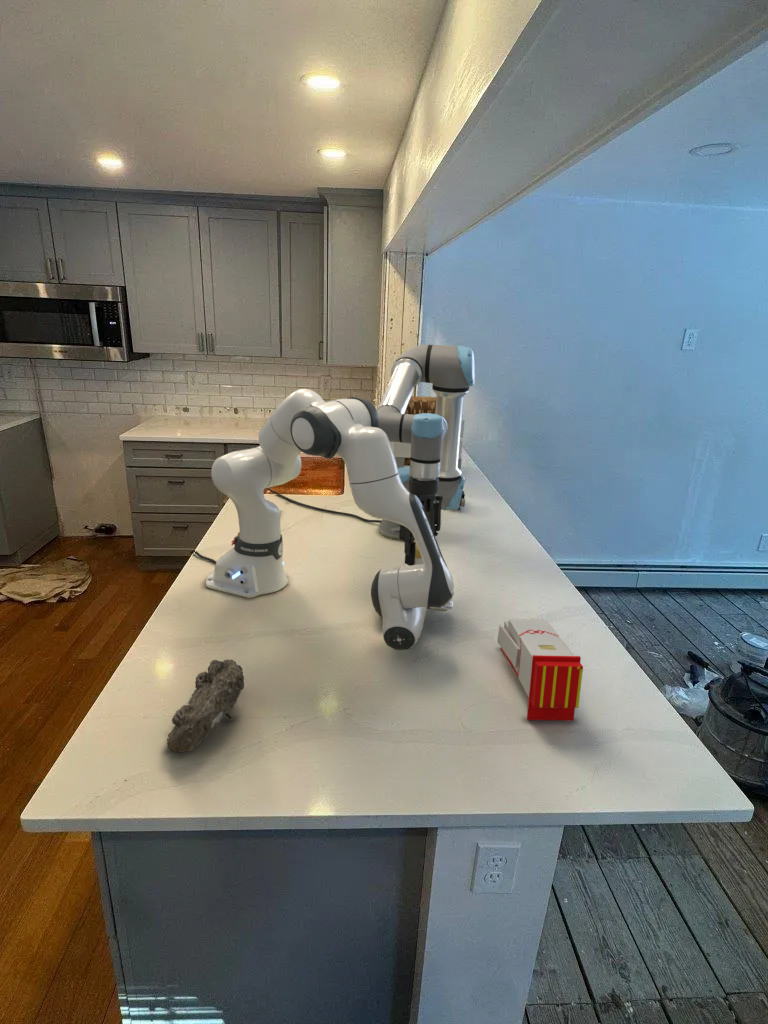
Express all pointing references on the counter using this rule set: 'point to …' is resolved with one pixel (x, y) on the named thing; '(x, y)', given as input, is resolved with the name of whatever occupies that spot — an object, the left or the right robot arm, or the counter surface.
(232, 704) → the fossil
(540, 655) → the toy
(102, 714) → the counter surface
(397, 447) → the white slatted box
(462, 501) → the figurine character
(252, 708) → the counter surface
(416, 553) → the lid
